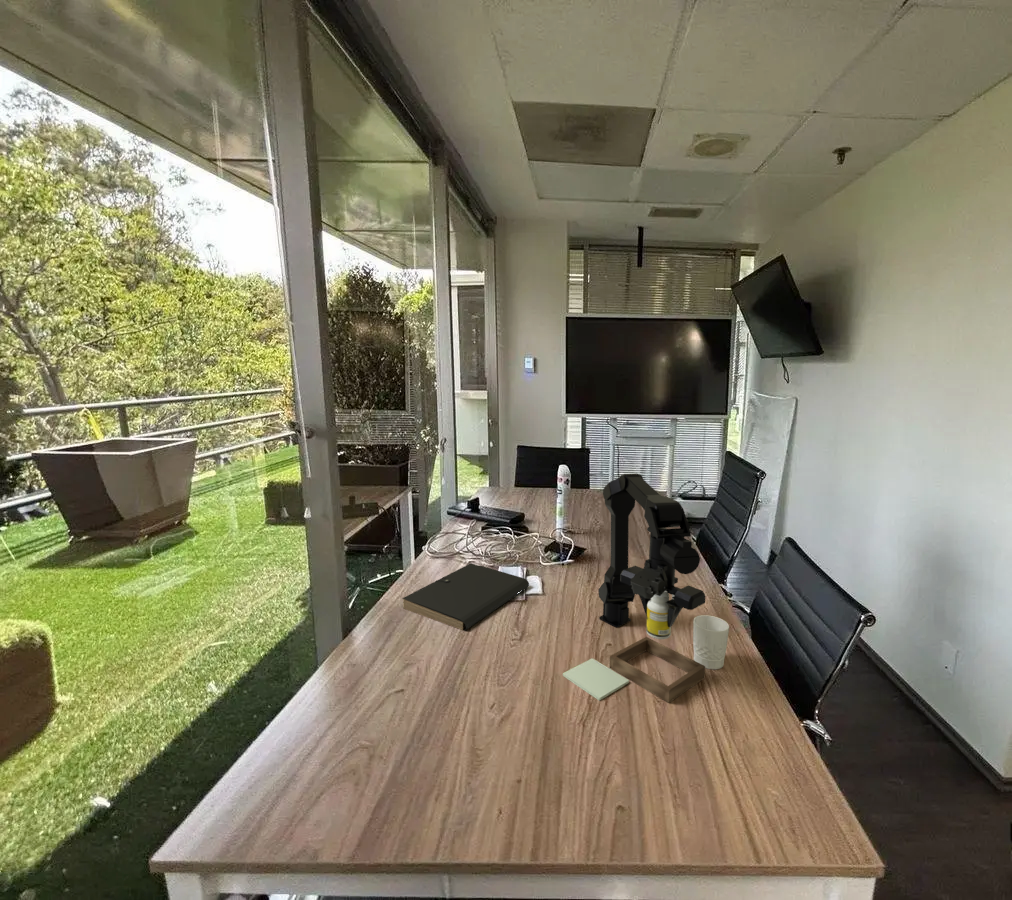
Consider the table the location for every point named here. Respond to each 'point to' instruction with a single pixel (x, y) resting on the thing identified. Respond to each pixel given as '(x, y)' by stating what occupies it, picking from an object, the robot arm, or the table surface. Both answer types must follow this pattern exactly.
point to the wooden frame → (649, 683)
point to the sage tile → (595, 678)
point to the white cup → (710, 641)
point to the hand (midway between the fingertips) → (658, 621)
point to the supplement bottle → (658, 617)
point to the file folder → (465, 595)
